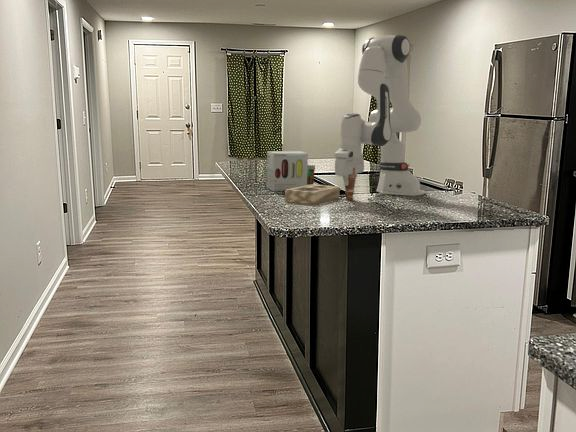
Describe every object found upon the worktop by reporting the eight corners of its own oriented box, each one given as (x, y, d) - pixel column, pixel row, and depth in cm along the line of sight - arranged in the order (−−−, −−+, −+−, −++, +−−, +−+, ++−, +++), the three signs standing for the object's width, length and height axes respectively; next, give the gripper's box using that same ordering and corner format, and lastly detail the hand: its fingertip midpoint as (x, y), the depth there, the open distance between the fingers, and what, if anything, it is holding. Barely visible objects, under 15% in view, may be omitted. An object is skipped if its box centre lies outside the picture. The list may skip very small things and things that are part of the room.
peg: (355, 199, 254) (356, 167, 251) (351, 200, 251) (352, 168, 248) (347, 198, 256) (348, 166, 254) (342, 199, 253) (343, 167, 250)
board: (339, 197, 258) (339, 186, 257) (313, 204, 240) (313, 192, 239) (312, 195, 266) (312, 183, 265) (285, 201, 248) (285, 189, 247)
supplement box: (272, 191, 276) (273, 153, 272) (266, 187, 288) (266, 151, 285) (307, 190, 280) (308, 152, 277) (300, 186, 293) (300, 150, 290)
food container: (293, 182, 309) (293, 163, 307) (304, 181, 311) (304, 163, 309) (304, 185, 298) (304, 165, 296) (314, 184, 300) (315, 165, 298)
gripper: (355, 150, 260) (354, 181, 262) (332, 153, 243) (331, 186, 246) (368, 151, 256) (367, 182, 259) (345, 154, 240) (345, 187, 242)
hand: (349, 184), depth 252 cm, fingers closed on peg, 4 cm apart
